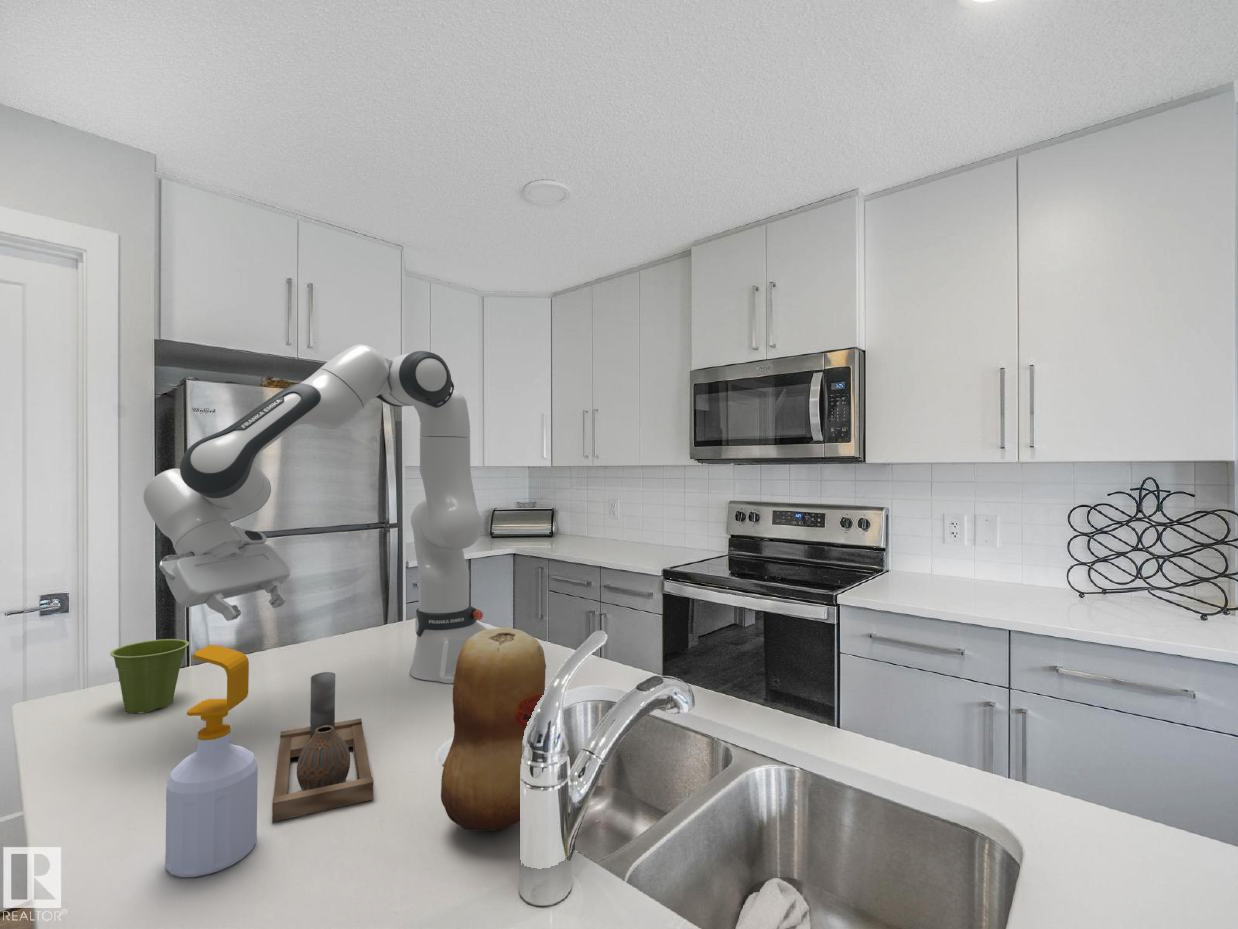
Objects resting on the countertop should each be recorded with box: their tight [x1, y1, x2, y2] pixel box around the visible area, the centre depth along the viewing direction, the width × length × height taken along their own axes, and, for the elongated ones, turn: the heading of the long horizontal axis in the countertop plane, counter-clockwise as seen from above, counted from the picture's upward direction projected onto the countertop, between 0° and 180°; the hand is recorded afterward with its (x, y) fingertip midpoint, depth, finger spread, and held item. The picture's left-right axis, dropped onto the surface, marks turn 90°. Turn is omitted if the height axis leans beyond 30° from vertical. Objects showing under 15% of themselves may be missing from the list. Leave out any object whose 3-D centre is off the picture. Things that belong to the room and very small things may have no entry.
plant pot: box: [109, 638, 190, 714], centre depth 114 cm, size 12×12×11 cm
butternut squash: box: [440, 626, 547, 832], centre depth 79 cm, size 14×13×25 cm
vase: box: [296, 725, 351, 791], centre depth 86 cm, size 7×7×9 cm
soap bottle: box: [164, 644, 259, 878], centre depth 72 cm, size 9×9×25 cm
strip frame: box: [271, 671, 374, 823], centre depth 91 cm, size 12×23×12 cm, turn 27°
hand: (258, 611), depth 101 cm, fingers open, 8 cm apart
